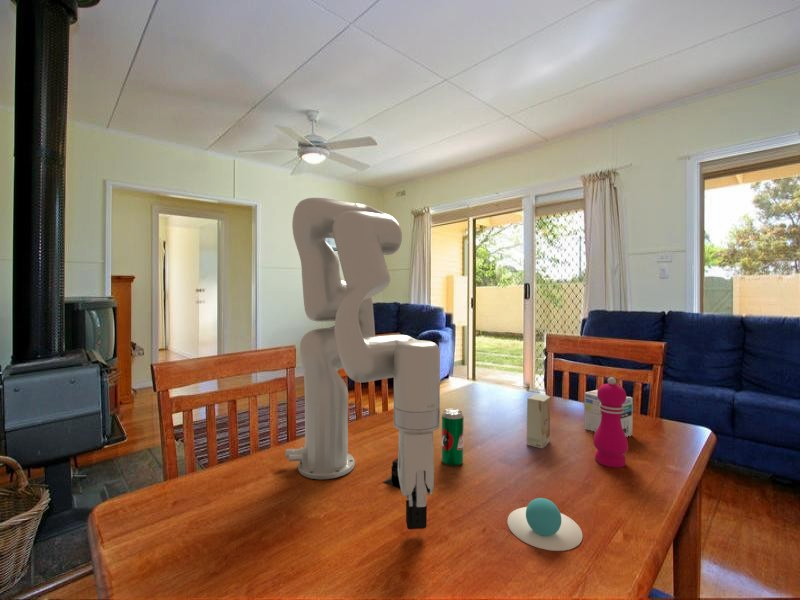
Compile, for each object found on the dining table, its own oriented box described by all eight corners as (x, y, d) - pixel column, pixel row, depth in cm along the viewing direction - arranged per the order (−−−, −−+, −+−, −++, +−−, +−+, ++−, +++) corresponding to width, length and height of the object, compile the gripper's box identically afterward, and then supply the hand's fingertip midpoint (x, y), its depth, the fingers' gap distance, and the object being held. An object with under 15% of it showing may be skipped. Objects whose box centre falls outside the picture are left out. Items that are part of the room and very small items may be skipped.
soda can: (462, 468, 90) (463, 415, 89) (440, 466, 91) (440, 414, 90) (463, 458, 95) (464, 408, 94) (442, 456, 96) (442, 407, 95)
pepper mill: (631, 461, 93) (633, 377, 93) (623, 472, 88) (625, 382, 87) (598, 452, 98) (600, 372, 97) (588, 462, 93) (590, 377, 92)
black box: (400, 498, 78) (400, 476, 78) (370, 488, 82) (370, 466, 82) (430, 473, 88) (430, 453, 88) (403, 465, 92) (403, 446, 92)
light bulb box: (633, 435, 109) (634, 397, 109) (620, 441, 106) (621, 401, 105) (595, 424, 118) (596, 388, 118) (582, 429, 115) (583, 392, 114)
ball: (545, 504, 63) (574, 522, 63) (533, 485, 69) (560, 501, 69) (525, 532, 63) (554, 550, 64) (515, 510, 69) (541, 527, 69)
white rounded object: (524, 553, 61) (524, 551, 61) (497, 509, 73) (497, 508, 73) (597, 548, 62) (597, 547, 62) (560, 506, 74) (560, 505, 74)
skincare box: (542, 449, 100) (543, 401, 100) (525, 445, 103) (526, 398, 102) (550, 441, 105) (551, 395, 105) (534, 437, 108) (534, 393, 107)
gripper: (390, 403, 72) (390, 502, 73) (397, 434, 57) (397, 558, 58) (431, 402, 73) (430, 500, 73) (449, 432, 58) (448, 555, 59)
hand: (416, 525), depth 66 cm, fingers closed
